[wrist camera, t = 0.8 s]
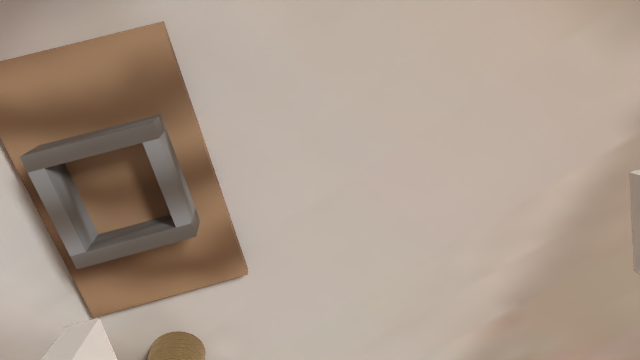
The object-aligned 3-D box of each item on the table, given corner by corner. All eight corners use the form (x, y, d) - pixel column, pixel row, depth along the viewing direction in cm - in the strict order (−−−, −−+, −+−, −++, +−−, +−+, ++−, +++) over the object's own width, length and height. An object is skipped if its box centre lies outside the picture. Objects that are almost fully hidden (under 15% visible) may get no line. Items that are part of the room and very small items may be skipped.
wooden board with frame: (-27, 68, 32) (-63, 75, 28) (163, 21, 33) (152, 22, 29) (97, 310, 40) (81, 340, 36) (247, 268, 41) (247, 293, 37)
